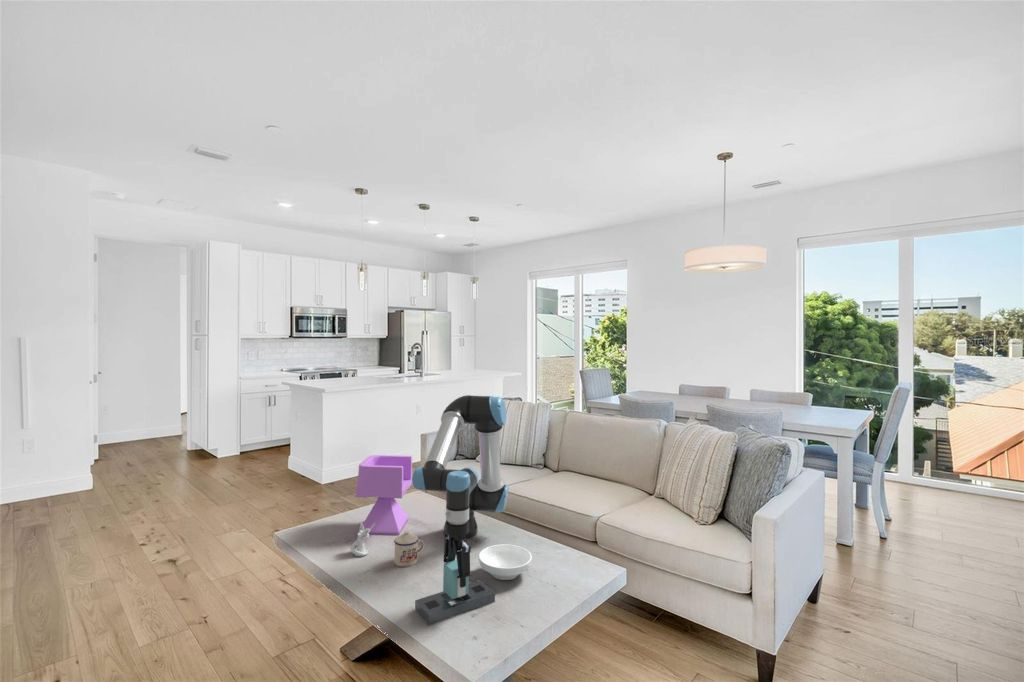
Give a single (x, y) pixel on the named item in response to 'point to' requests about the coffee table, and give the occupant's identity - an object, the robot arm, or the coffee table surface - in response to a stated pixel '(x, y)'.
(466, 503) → the robot arm
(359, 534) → the figurine
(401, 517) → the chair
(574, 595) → the coffee table surface
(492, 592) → the grey flat slotted block
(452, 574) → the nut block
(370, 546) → the coffee table surface
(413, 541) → the teacup with lid
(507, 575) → the bowl
